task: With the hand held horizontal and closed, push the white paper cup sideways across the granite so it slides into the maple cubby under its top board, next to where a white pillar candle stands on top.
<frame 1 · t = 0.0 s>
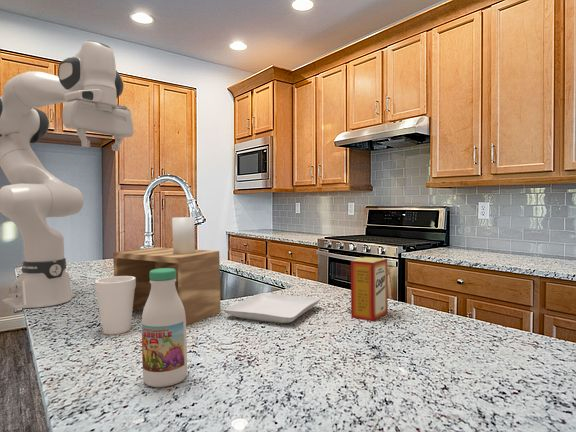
hand: (101, 148, 112), 48 cm above the table, tool pointing down, fingers open, 8 cm apart
salad plate: (274, 315, 112), on the table
foam cup: (117, 331, 99), on the table
cubby: (167, 313, 114), on the table
white pillar candle: (184, 253, 110), point 18 cm above the table, touching cubby
baking soda box: (369, 316, 109), on the table
milk bottle: (165, 379, 71), on the table
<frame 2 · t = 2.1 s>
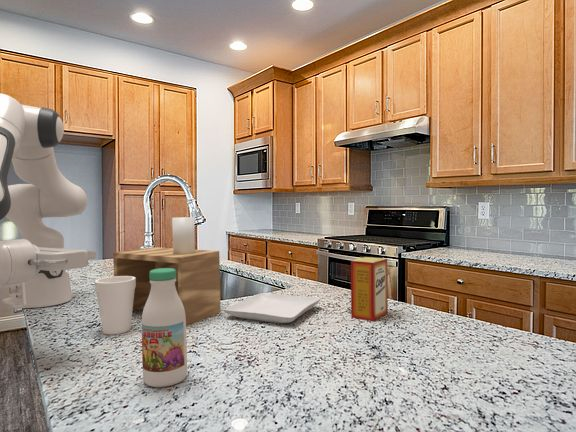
hand: (81, 253, 90), 21 cm above the table, tool horizontal, fingers open, 8 cm apart
nothing on the table moved.
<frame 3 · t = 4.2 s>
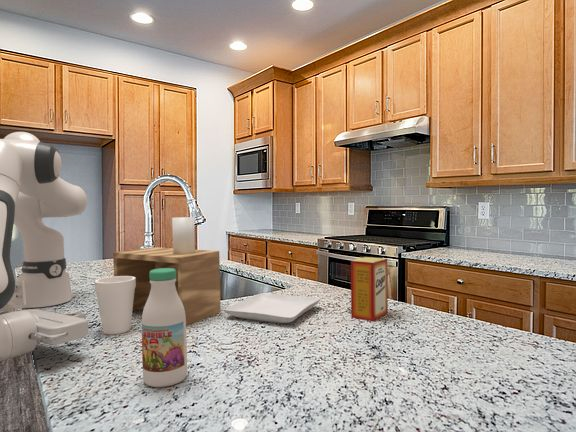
hand: (82, 315, 91), 6 cm above the table, tool horizontal, fingers closed
nothing on the table moved.
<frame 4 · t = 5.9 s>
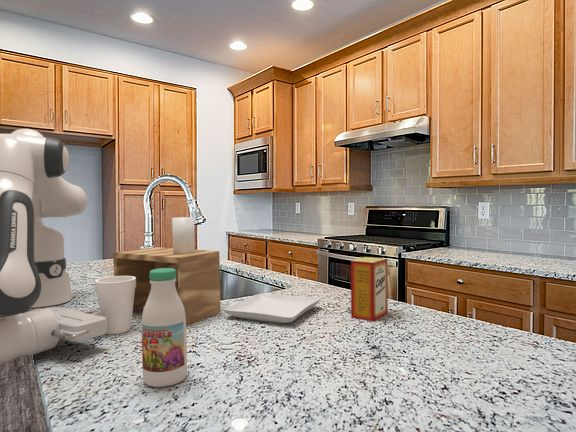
hand: (99, 313, 95), 5 cm above the table, tool horizontal, fingers closed
foam cup: (117, 330, 99), on the table, touching gripper
everything else where it was.
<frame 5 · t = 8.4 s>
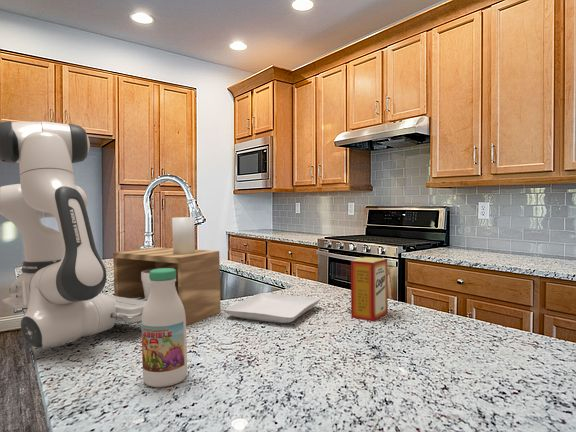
hand: (145, 300, 107), 6 cm above the table, tool horizontal, fingers closed, pressing on foam cup
foam cup: (160, 317, 111), on the table, touching gripper
everything else where it was.
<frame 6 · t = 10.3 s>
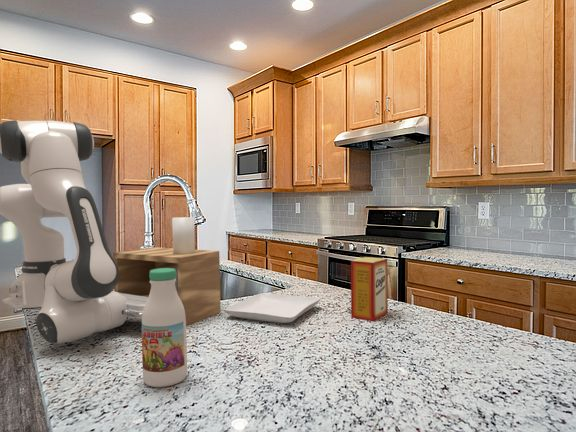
hand: (154, 298, 109), 6 cm above the table, tool horizontal, fingers closed
foam cup: (168, 314, 113), on the table
everything else where it was.
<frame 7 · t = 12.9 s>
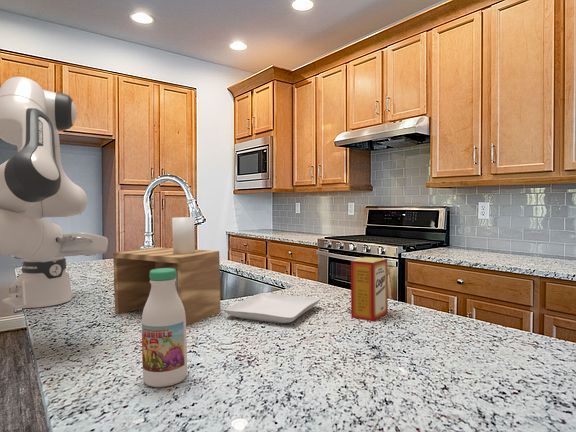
hand: (92, 252, 97), 20 cm above the table, tool tilted 75°, fingers closed
nothing on the table moved.
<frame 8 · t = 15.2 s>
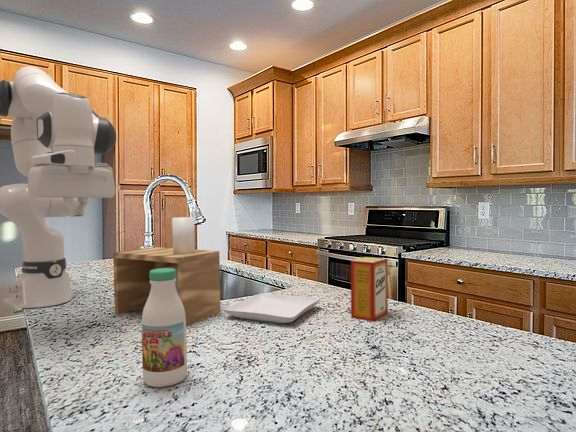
hand: (76, 216, 96), 29 cm above the table, tool pointing down, fingers closed
nothing on the table moved.
at the end: foam cup inside the target area (1.5 cm from its centre), on the table; foam cup tilted 0°; white pillar candle moved 0.0 cm from its start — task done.
